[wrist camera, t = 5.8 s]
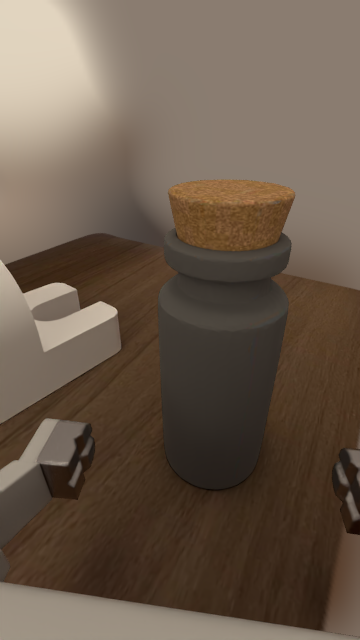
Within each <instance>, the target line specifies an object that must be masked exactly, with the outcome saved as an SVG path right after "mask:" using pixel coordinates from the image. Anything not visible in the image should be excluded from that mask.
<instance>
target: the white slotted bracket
mask: <svg viewBox="0 0 360 640" xmlns="http://www.w3.org/2000/svg"><path fill="white" fill-rule="evenodd" d="M120 349H121V339H120V330H119V322H118V314H117V310H116V309H115V308H114V307H112V306H110V305H108V304H106V303H104V302H101V301H100V302H97V303H95V304H93V305H91V306H89V307H86V308H84V309H82V310H80V305H79V299H78V294H77V289H75V288H73V287H71V286H69V285H67V284H64V283H53V284H49V285H46V286H43V287H41V288H38V289H35V290H32V291H30V292H27V293H24V294H23V293H22V292H21V290H20V288H19V286H18V285H17V283H16V281H15V279H14V278H13V276H12V275H11V274H10V272H9V271H8V269H7V268H6V267H5V265H4V264H3V262H2V261H1V260H0V424H1V423H3V422H5V421H6V420H8V419H9V418H11V417H13V416H14V415H16V414H18V413H19V412H21V411H23V410H24V409H26V408H28V407H29V406H31V405H32V404H34V403H36V402H37V401H39V400H41V399H42V398H44V397H46V396H47V395H49V394H50V393H52V392H54V391H55V390H57V389H59V388H60V387H62V386H64V385H65V384H67V383H68V382H70V381H72V380H73V379H75V378H77V377H78V376H80V375H82V374H83V373H85V372H87V371H88V370H90V369H91V368H93V367H95V366H96V365H98V364H100V363H101V362H103V361H105V360H106V359H108V358H109V357H111V356H113V355H114V354H116V353H118V352H119V351H120Z"/></svg>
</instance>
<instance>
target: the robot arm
mask: <svg viewBox="0 0 360 640" xmlns="http://www.w3.org/2000/svg"><path fill="white" fill-rule="evenodd" d="M91 432H92V427H91V424H90V423H82V422H74V421H66V420H58V419H48V418H46V419H45V420H44V421H43V422H42V423H41V425H40V426H39V428H38V430H37V431H36V433H35V434H34V436H33V438H32V439H31V441H30V443H29V444H28V446H27V448H26V449H25V451H24V452H23V454H22V456H21V457H20V459H19V461H16V460H14V461H13V462H11V463H10V464H8V465H7V466H5V467H4V468H2V469H1V470H0V640H360V637H357V636H350V635H344V634H337V633H331V632H324V631H318V630H311V629H305V628H298V627H292V626H285V625H279V624H272V623H266V622H259V621H253V620H246V619H240V618H233V617H227V616H220V615H214V614H207V613H201V612H194V611H188V610H181V609H175V608H168V607H162V606H155V605H149V604H142V603H136V602H129V601H123V600H116V599H109V598H103V597H96V596H90V595H83V594H77V593H70V592H64V591H57V590H51V589H44V588H38V587H31V586H25V585H18V584H12V583H5V582H3V581H4V579H5V577H6V575H7V573H8V571H9V569H10V564H9V561H8V559H7V558H6V556H5V555H4V553H3V551H2V550H1V549H2V548H3V547H4V546H5V545H6V544H7V543H8V542H9V541H10V540H11V539H12V538H13V537H14V536H15V535H16V534H17V533H18V532H19V531H20V530H21V529H22V528H23V527H24V526H25V525H26V524H27V523H28V522H29V521H30V520H32V519H33V518H34V517H35V516H36V515H37V514H38V513H39V512H40V511H41V510H42V509H43V508H44V507H45V506H46V505H47V504H48V503H49V502H50V501H51V500H52V497H54V498H65V499H75V500H78V497H79V495H80V492H81V490H82V487H83V485H84V482H85V477H84V472H85V471H86V470H88V469H89V468H90V467H91V464H92V461H93V458H94V453H95V441H94V438H93V437H92V436H90V434H91ZM339 458H340V461H339V462H337V463H335V465H334V467H333V470H332V482H333V488H334V491H335V495H336V496H337V497H338V498H339V499H340V500H341V501H342V502H343V504H342V506H341V508H340V512H341V515H342V518H343V522H344V525H345V528H346V532H347V533H351V534H358V535H360V449H352V448H343V449H341V450H340V453H339Z"/></svg>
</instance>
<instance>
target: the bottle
mask: <svg viewBox="0 0 360 640" xmlns="http://www.w3.org/2000/svg"><path fill="white" fill-rule="evenodd" d="M168 194H169V199H170V204H171V209H172V213H173V218H174V223H175V228H174V229H172V230H171V231H169V232H168V233H167V234H166V236H165V239H164V255H165V259H166V262H167V263H168V265H169V266H170V267H171V268H173V269H174V270H176V271H178V274H177V275H175V276H174V277H172V278H171V279H170V280H169V281H167V282H166V283H165V284H164V285H163V287H162V288H161V290H160V292H159V296H158V319H159V348H160V371H161V394H162V415H163V433H164V446H165V453H166V456H167V460H168V462H169V464H170V466H171V467H172V468H173V470H174V471H175V472H176V473H177V474H178V475H179V476H180V477H181V478H182V479H184V480H185V481H187V482H189V483H190V484H192V485H195V486H197V487H201V488H205V489H216V490H217V489H225V488H229V487H232V486H235V485H237V484H239V483H240V482H242V481H244V480H245V479H246V478H247V477H248V476H249V475H250V474H251V473H252V471H253V470H254V468H255V466H256V463H257V460H258V457H259V453H260V449H261V444H262V440H263V435H264V430H265V425H266V420H267V415H268V410H269V406H270V401H271V396H272V391H273V386H274V381H275V376H276V372H277V367H278V362H279V357H280V351H281V346H282V341H283V336H284V330H285V325H286V320H287V314H288V303H289V302H288V298H287V296H286V294H285V292H284V291H283V290H282V289H281V287H280V286H279V285H278V284H277V283H276V282H274V281H273V280H272V279H271V277H273V276H275V275H277V274H279V273H281V272H282V271H283V270H284V269H285V268H286V266H287V264H288V262H289V257H290V251H291V240H290V239H289V238H288V236H286V235H285V234H283V233H282V229H283V227H284V224H285V222H286V219H287V216H288V214H289V211H290V209H291V206H292V203H293V201H294V198H295V192H294V191H293V190H292V189H290V188H288V187H285V186H281V185H278V184H274V183H266V182H258V181H249V180H200V181H193V182H186V183H181V184H178V185H175V186H173V187H171V188H170V189H169V191H168Z"/></svg>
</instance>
